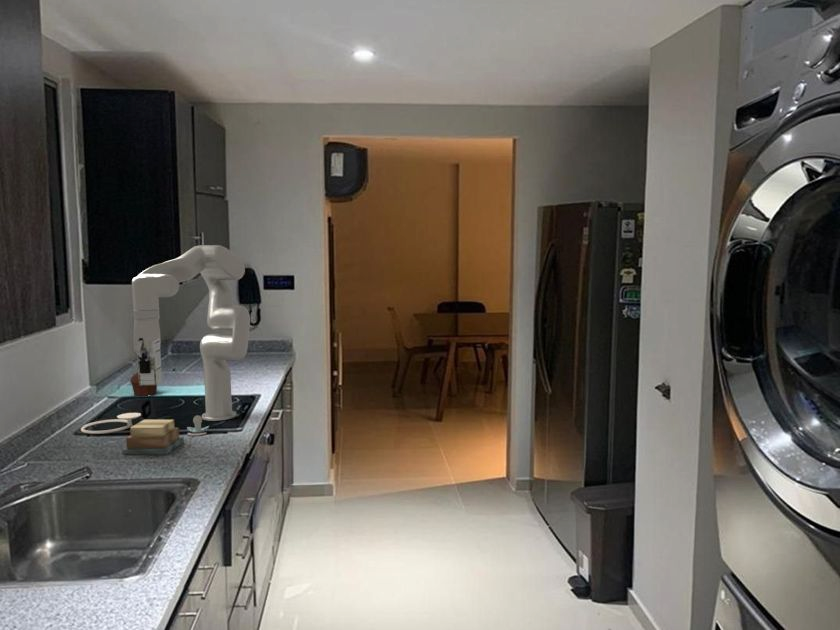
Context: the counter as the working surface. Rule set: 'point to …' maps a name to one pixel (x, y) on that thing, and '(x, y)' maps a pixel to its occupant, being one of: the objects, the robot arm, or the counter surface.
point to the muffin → (142, 387)
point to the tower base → (152, 437)
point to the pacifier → (197, 427)
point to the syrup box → (152, 366)
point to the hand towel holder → (120, 418)
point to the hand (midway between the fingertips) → (150, 370)
